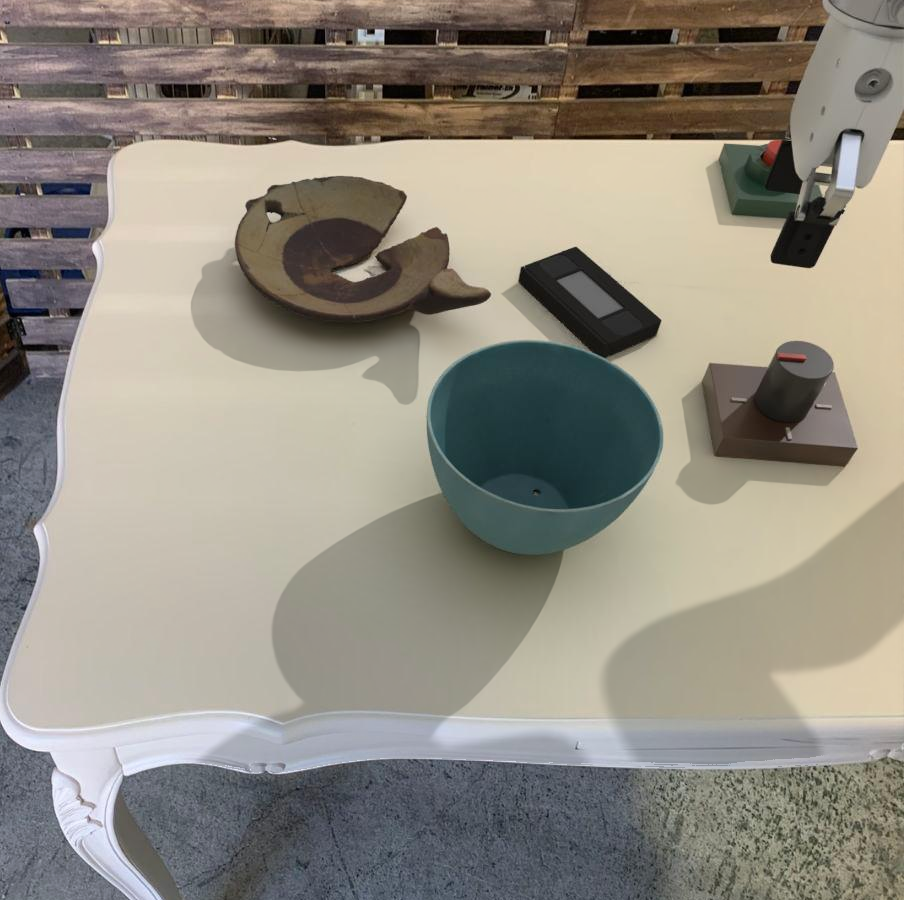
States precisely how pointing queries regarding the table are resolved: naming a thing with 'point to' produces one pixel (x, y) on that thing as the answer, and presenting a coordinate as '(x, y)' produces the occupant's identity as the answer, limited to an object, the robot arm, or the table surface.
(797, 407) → the knob
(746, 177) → the button box
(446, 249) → the broken bowl
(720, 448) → the panel
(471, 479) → the plant pot
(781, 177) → the robot arm
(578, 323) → the vhs tape
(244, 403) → the table surface
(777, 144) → the button
